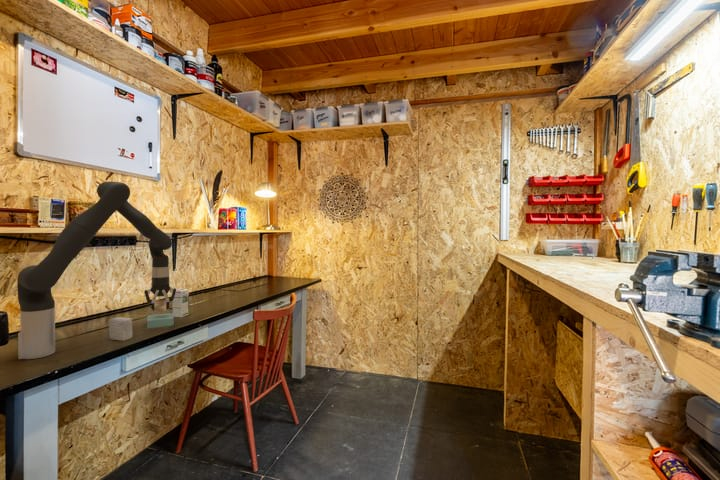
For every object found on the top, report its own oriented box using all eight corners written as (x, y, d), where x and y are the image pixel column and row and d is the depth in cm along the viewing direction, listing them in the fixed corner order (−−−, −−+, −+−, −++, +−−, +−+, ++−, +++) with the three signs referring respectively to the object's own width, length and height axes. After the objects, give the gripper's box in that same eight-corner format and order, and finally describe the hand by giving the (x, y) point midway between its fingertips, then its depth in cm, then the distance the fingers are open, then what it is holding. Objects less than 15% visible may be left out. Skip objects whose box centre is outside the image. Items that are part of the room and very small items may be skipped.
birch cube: (154, 312, 163) (154, 302, 162) (154, 310, 167) (154, 300, 167) (166, 311, 165) (166, 301, 165) (166, 309, 169) (166, 299, 169)
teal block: (147, 329, 159) (147, 320, 159) (147, 323, 168) (147, 315, 168) (173, 326, 164) (173, 318, 164) (172, 320, 174) (172, 313, 174)
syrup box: (182, 317, 179) (182, 290, 178) (172, 316, 180) (172, 290, 179) (189, 314, 184) (189, 288, 184) (179, 314, 185) (179, 288, 185)
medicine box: (132, 338, 145) (132, 318, 144) (122, 341, 140) (122, 321, 140) (118, 336, 147) (118, 316, 147) (108, 339, 143) (108, 319, 142)
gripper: (142, 277, 159) (142, 313, 159) (177, 276, 166) (177, 310, 166) (144, 275, 165) (144, 309, 166) (177, 274, 172) (177, 306, 173)
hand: (160, 309), depth 166 cm, fingers closed on birch cube, 5 cm apart
